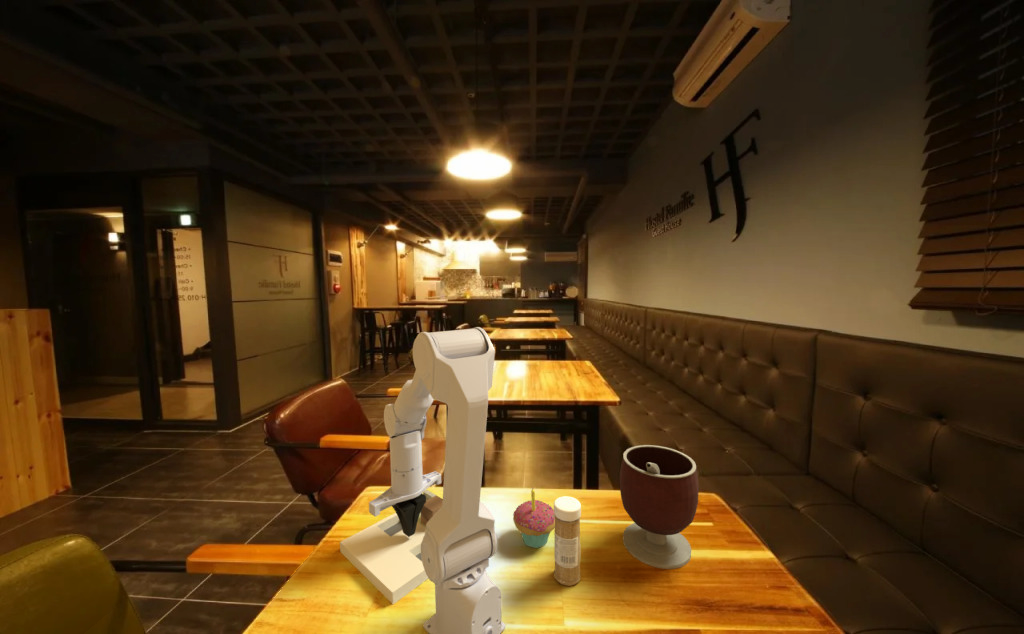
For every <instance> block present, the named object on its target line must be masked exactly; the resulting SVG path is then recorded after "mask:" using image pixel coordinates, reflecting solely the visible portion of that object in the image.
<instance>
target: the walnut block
mask: <svg viewBox="0 0 1024 634" xmlns="http://www.w3.org/2000/svg"><path fill="white" fill-rule="evenodd" d="M435 495H436V494H435ZM442 502H443V497H442V498H441V496H438V495H436V496H434V497H432V498H430V499H428V500H427V501H426V503H425V504H424V506H423V508H422V510H421V523H422V524H424V525H425V526H426V524H427V522H428V521H429V520H430V519H431V518H432V517H433V516H434V514H435V513H436V512H437V511H438V510H439V509H440V508H441V507H442Z"/></svg>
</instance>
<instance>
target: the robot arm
mask: <svg viewBox="0 0 1024 634" xmlns="http://www.w3.org/2000/svg"><path fill="white" fill-rule="evenodd" d="M495 352H496V350H495V347H494V346H493V343H492V341H491V339H490V337H489V335H488V333H487V332H486V330H485V329H483V328H482V327H480V326H476V327H472V328H466V329H455V330H445V331H433V332H427V331H421V332H419V333H418V334H417V336H416V338H415V339H414V341H413V345H412V359H413V360H412V361H413V364H414V367H415V371H414V374H413V377H412V379H408V380H406V382H405V383H404V384H403V385H402V387H401V390H400V392H399V393H398V396H397V398H396V399H395V402H394V403H389V404H385V407H384V410H383V422H384V427H385V432H386V434H387V435H388V437H389V452H390V453H389V455H390V456H389V458H390V461H389V462H390V477H391V478H390V479H391V482H390V483H391V486H390V487H389V488H387V490H385V491H384V492H383V493H381V494H380V495H378V496H377V497H375V498H374V499H372V500H370V501H369V502H368V513H370V514H371V515H372V516H374V517H377V516H379V515H380V514H381V512H383V511H385V510H386V509H388V508H390V507H391V508H392V509H393V510H394V513H396V514H397V516H398V518H399V520H400V523H401V526H402V530H403V533H404V534H406V535H407V536H408V537H410V536H412V535H413V534H415V530H416V526H417V522H418V518H419V515H420V512H421V510H422V508H423V506H424V504H425V503H426V496H425V495H424V494H423V492H424V491H425V490H428V488H431V487H432V486H434V485H438V486H439V485H441V484H442V474H441V473H440V472H438V471H435V470H434V471H433V472H428V473H426V474H423V451H422V450H423V449H422V448H423V447H422V440H424V438H425V429H426V426H427V416H426V414H427V412H428V410H429V409H430V407H431V406H432V404H433V402H434V400H435V401H438V402H440V403H444V404H446V405H447V419H446V436H445V437H446V438H445V455H444V469H443V470H444V471H443V486H442V487H443V488H442V499H443V502H442V507H441V508H440V509H439V510H438V511H437V512H436V513H435V514H434V516H433V517H432V518H431V519H430V520H429V521H428V522H427V524H426V530H425V535H424V537H423V540H422V543H421V558H422V563H423V567H424V570H425V572H426V574H427V576H428V579H429V581H430V582H432V583H433V584H434V590H435V591H434V596H435V597H434V598H435V599H434V600H435V603H434V604H435V614H434V615H432V616H431V617H430V618H429V619H427V620H426V621H425V622H424V623H423V629H424V630H425V631H426V632H427V633H428V634H501V633H502V632H503V631H504V630H505V629H506V624H505V622H504V621H502V593H501V589H500V588H499V586H498V585H497V584H496V583H494V582H493V581H492V579H491V578H490V576H489V575H488V573H487V568H488V567H489V566H490V560H489V559H490V558H492V557H493V556H495V554H496V550H497V544H498V542H497V541H498V540H497V533H496V529H495V528H496V527H495V523H496V522H495V521H496V520H495V517H494V516H493V514H492V512H491V511H490V510H489V508H488V507H487V506H486V505H485V504H484V503H482V502H481V493H482V492H481V490H482V489H481V488H482V479H483V478H482V477H483V467H484V455H485V445H486V444H485V443H486V431H487V422H488V421H487V420H488V419H487V418H488V408H489V407H488V406H489V390H491V388H492V385H493V377H494V376H493V375H494V364H495V356H496V355H495V354H496V353H495Z"/></svg>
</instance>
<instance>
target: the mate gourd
mask: <svg viewBox="0 0 1024 634" xmlns="http://www.w3.org/2000/svg"><path fill="white" fill-rule="evenodd" d="M622 455H623V457H622V461H621V465H620V466H621V467H620V471H619V492H620V496H621V497H620V498H621V502H622V506H623V508H624V510H625V512H626V513H627V515H628V516H629V517H630V519H631V520H632V522H633V523H632V524H630V525H628V526H627V527H625V529H624V530H623V532H622V542H623V546H624V547H625V549H626V551H628V553H629V554H630V555H631V556H633V557H634V558H635V559H637V561H640V562H641V563H643V564H645V565H648V566H651V567H654V568H658V569H665V570H672V569H678V568H682V567H684V566H685V565H687V564H689V562H690V560H691V558H692V547H691V544H690V543H689V541H688V540H687V538H686V537H685V536H684V535H683V534H681V532H683V531H684V530H685V529H686V528H688V527H689V526H690V525H692V523H693V521H694V518H695V516H696V513H697V509H698V505H699V490H700V489H699V477H698V472H697V465H696V461H694V459H692V457H690V456H689V455H687V454H685V453H684V452H681V451H680V450H679V451H678V450H676V449H674V448H671V447H666V446H661V445H654V444H653V445H651V444H643V445H634V446H632V447H628V448H627V449H626V450H625V451H624V452H623V454H622Z"/></svg>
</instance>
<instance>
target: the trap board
mask: <svg viewBox="0 0 1024 634" xmlns="http://www.w3.org/2000/svg"><path fill="white" fill-rule="evenodd" d="M422 494H424V495H425V496H426V501H427V500H428V499H430V498H432V497H434V496H436V494H435V493H433V492H431V491H430V490H428V489H426V490H425V491H424V492H423V493H422ZM425 530H426V526H425V525H424V524H422V523H421V512H420V515H419V518H418V522H417V526H416V530H415V534H413V535H412V536H410V537H408V536H407V535H406V534H404V533H403V530H402V526H401V523H400V520H399V518H398V516H397V514H396V512H394V513H393V514H391V515H389V516H386V517H385V518H383V519H380V520H379V521H376V522H375V523H374V524H372V525H370V526H367V527H366V528H364V529H362V530H360V531H357V532H356V533H355V534H353V535H350V536H349V537H346V538H345V539H343V540H342V541H340V542H339V549H340V550H339V551H340V552H339V553H341V554H342V555H343V556H344V557H345V558H346V559H347V560H348V561H349V562H350V563H351V564H352V565H353V566H354V567H355V568H356V569H357V570H358V571H359V572H360V573H361V575H363V576H364V577H365V578H366V579H367V580H368V581H369V582H370V583H371V584H372V585H373V586H374V587H375V588H376V589H377V590H378V591H379V592H380V593H381V594H382V595H383V596H384V597H385V598H386V599H387V600H388V601H389V602H390V603H391V604H392V605H394V604H396V603H397V602H398V601H400V600H401V599H402V598H404V597H405V596H406V595H408V594H410V593H411V592H412V591H413V590H415V589H416V588H418V587H419V586H420V585H422V584H423V583H424V582H425V581H427V580H428V579H429V578H428V576H427V574H426V572H425V570H424V567H423V563H422V558H421V543H422V540H423V537H424V535H425Z"/></svg>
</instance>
